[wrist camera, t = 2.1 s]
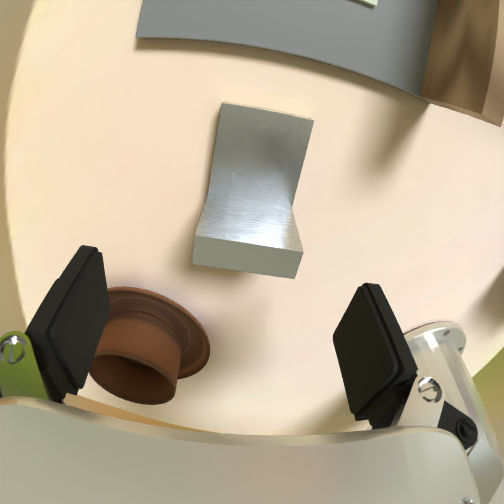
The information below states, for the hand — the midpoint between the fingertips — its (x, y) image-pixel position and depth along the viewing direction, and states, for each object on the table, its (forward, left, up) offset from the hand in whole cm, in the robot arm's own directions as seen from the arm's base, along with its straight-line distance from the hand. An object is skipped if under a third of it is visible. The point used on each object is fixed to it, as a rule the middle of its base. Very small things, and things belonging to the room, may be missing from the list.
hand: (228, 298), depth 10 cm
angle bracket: (+2, -1, -10) cm, 10 cm away
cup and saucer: (-14, +6, -10) cm, 18 cm away
